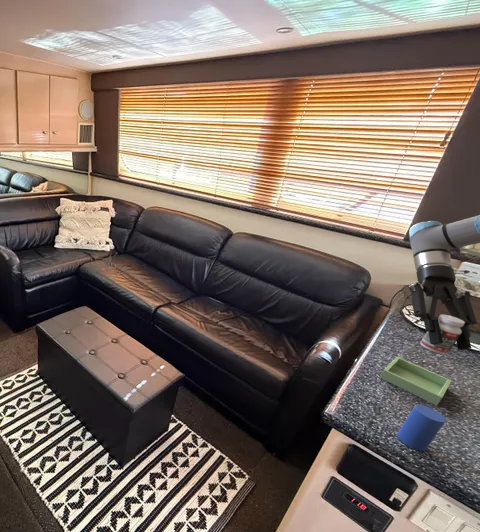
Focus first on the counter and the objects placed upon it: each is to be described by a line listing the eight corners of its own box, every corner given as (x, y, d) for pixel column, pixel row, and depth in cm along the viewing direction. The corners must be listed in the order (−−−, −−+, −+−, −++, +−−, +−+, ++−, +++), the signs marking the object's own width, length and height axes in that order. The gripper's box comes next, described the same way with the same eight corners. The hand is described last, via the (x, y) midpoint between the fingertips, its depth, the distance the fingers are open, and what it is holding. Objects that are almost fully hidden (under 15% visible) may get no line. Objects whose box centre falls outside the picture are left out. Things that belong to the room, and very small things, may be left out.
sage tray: (446, 388, 96) (451, 380, 95) (436, 405, 88) (442, 397, 87) (392, 363, 106) (397, 356, 104) (379, 377, 97) (383, 369, 96)
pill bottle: (437, 355, 87) (457, 324, 83) (414, 342, 92) (431, 313, 89) (453, 354, 88) (473, 324, 85) (429, 342, 93) (447, 313, 90)
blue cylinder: (427, 445, 75) (447, 416, 71) (422, 454, 72) (443, 425, 69) (399, 429, 78) (417, 401, 75) (394, 438, 76) (412, 409, 72)
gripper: (458, 280, 96) (477, 356, 87) (388, 269, 100) (399, 341, 91) (485, 270, 89) (508, 351, 80) (408, 258, 93) (422, 335, 84)
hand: (450, 346), depth 86 cm, fingers closed on pill bottle, 6 cm apart
